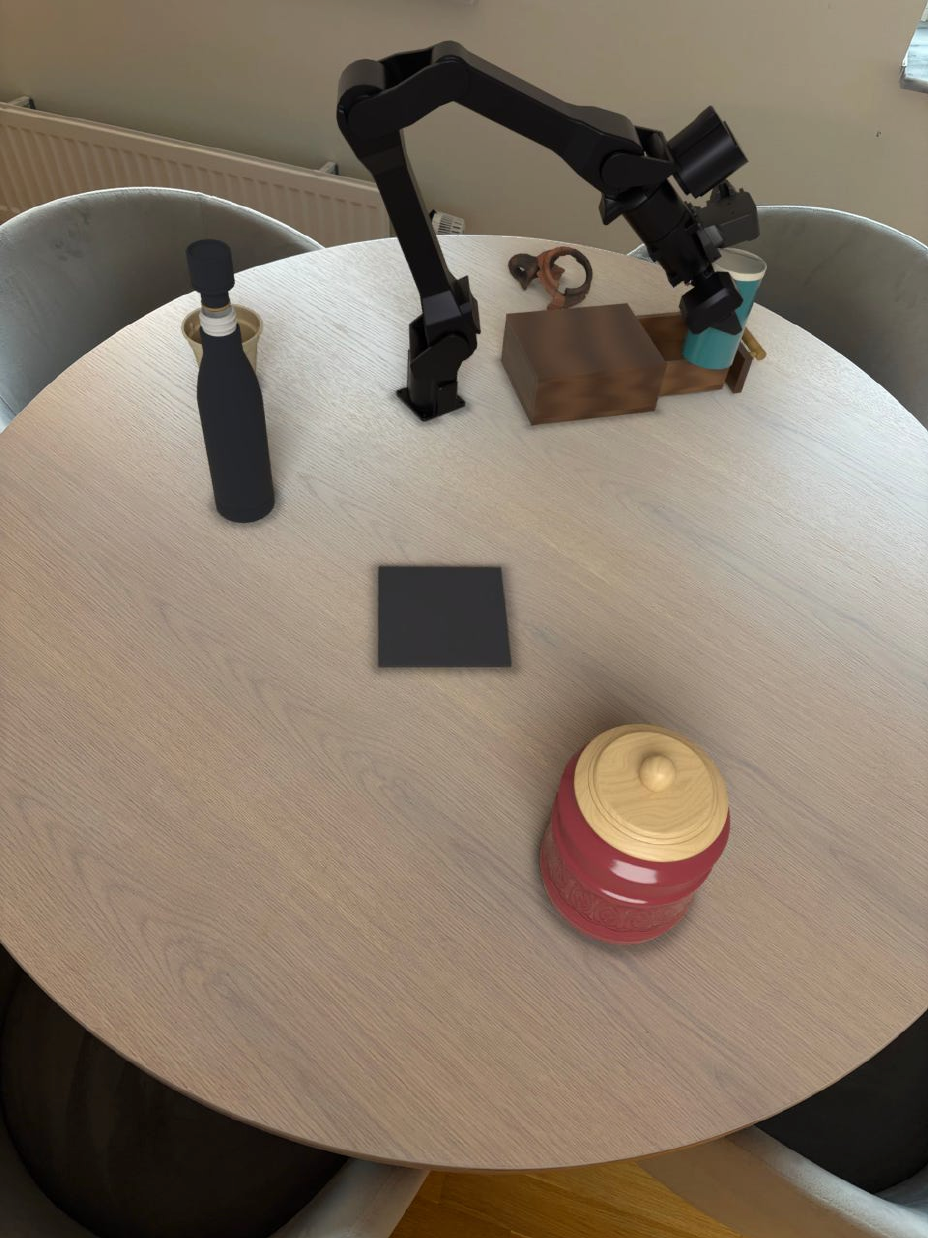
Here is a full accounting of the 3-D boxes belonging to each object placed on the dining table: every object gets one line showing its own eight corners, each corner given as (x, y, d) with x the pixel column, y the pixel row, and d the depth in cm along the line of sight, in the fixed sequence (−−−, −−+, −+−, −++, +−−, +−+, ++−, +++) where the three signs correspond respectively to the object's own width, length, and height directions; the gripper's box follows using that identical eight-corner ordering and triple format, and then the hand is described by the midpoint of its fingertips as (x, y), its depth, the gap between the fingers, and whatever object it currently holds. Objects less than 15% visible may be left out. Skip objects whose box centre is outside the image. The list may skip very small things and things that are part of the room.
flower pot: (183, 371, 119) (172, 310, 113) (256, 356, 122) (249, 296, 116) (203, 415, 114) (192, 354, 108) (278, 399, 117) (273, 338, 111)
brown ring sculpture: (576, 279, 141) (601, 248, 133) (571, 335, 139) (595, 307, 131) (501, 256, 138) (521, 222, 130) (494, 313, 135) (514, 283, 128)
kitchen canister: (675, 804, 85) (732, 689, 71) (704, 949, 76) (775, 849, 63) (531, 804, 84) (561, 687, 70) (544, 950, 75) (581, 849, 62)
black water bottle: (263, 528, 103) (230, 274, 80) (207, 517, 103) (157, 261, 80) (282, 489, 107) (256, 237, 84) (228, 479, 107) (187, 225, 84)
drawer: (729, 335, 132) (741, 301, 128) (770, 389, 124) (783, 354, 120) (597, 348, 127) (604, 313, 123) (631, 405, 120) (639, 370, 116)
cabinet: (616, 349, 129) (627, 302, 124) (654, 411, 121) (667, 364, 116) (500, 360, 126) (506, 313, 120) (531, 425, 117) (538, 377, 112)
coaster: (378, 569, 100) (378, 566, 100) (500, 569, 101) (500, 567, 101) (378, 667, 92) (378, 665, 92) (511, 667, 93) (511, 664, 93)
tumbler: (671, 344, 117) (699, 249, 108) (715, 339, 119) (746, 245, 110) (698, 372, 113) (729, 276, 104) (743, 366, 115) (777, 272, 106)
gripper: (751, 216, 93) (818, 320, 102) (709, 132, 105) (773, 231, 114) (654, 286, 98) (726, 378, 107) (625, 198, 110) (692, 288, 119)
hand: (731, 315), depth 112 cm, fingers closed on tumbler, 6 cm apart
